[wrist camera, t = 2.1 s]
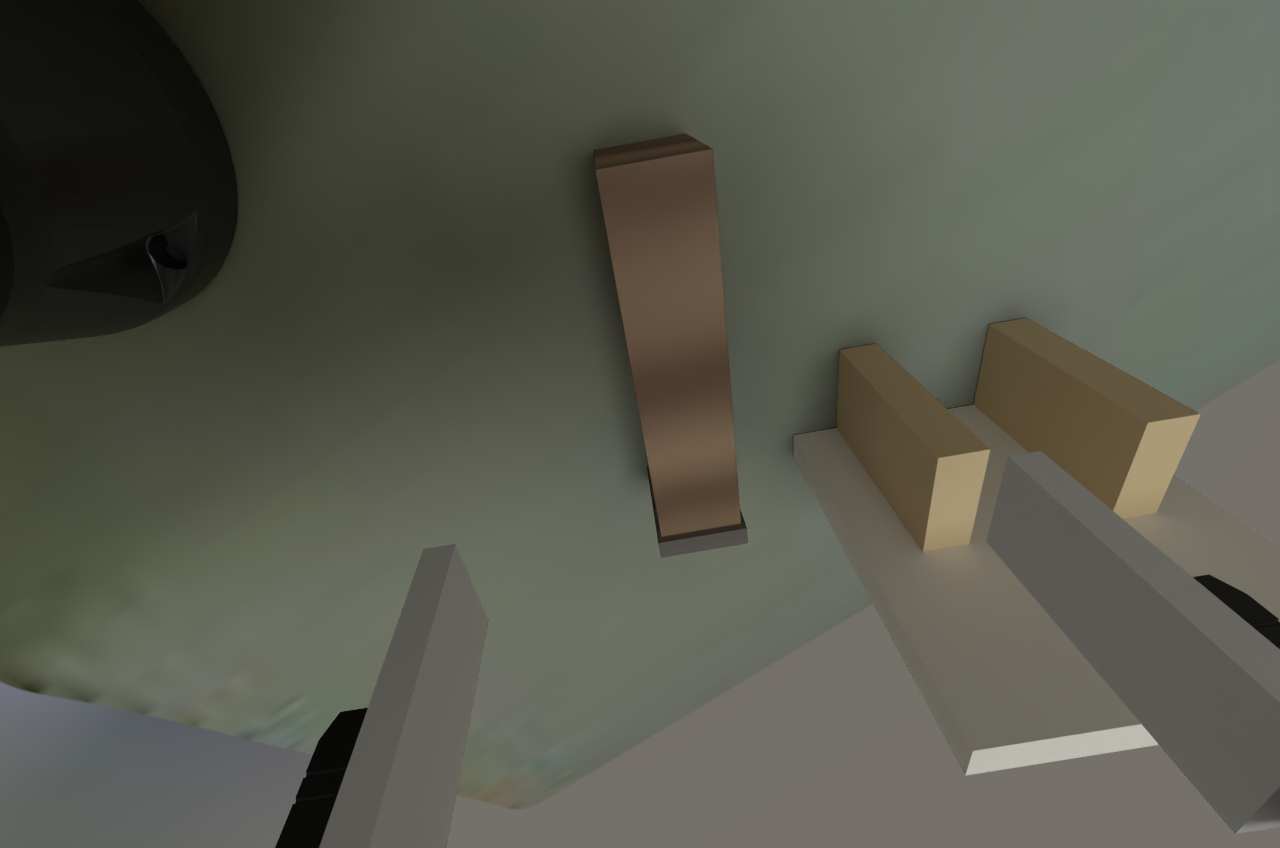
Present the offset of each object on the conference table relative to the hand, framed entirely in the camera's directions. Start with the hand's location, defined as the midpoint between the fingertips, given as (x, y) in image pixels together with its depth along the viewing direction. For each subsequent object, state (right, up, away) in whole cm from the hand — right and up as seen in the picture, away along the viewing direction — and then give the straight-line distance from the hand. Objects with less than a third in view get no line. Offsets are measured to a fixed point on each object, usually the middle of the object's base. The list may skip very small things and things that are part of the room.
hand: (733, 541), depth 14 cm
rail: (-1, +7, +15) cm, 17 cm away
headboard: (+14, +6, +18) cm, 23 cm away
